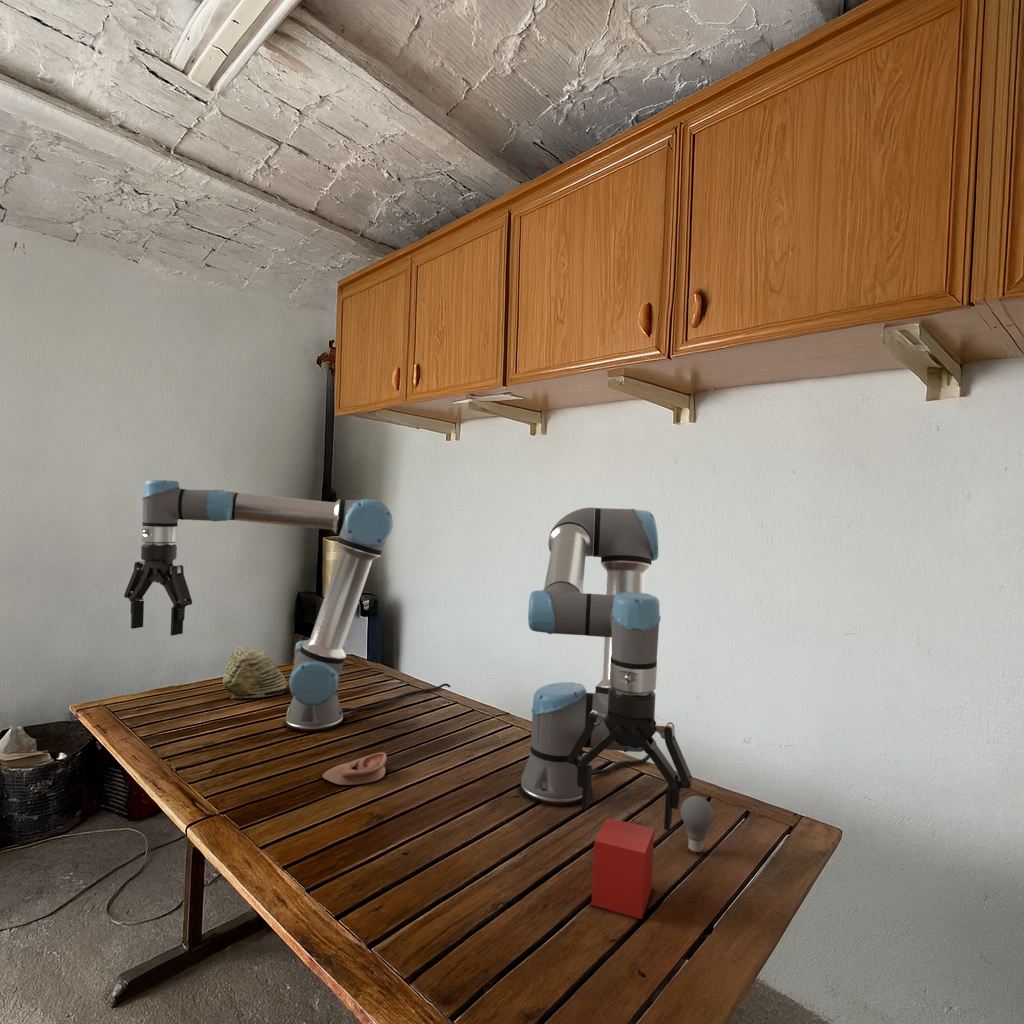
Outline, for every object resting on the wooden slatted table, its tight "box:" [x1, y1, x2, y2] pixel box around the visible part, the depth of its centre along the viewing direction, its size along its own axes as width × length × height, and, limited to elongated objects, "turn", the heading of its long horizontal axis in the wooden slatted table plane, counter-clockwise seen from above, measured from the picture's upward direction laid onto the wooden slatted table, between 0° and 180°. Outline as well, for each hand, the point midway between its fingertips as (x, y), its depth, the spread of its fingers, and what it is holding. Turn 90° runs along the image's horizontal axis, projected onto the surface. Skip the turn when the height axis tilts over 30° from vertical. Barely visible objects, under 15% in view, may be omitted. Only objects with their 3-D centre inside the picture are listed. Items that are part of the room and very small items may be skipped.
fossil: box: [222, 646, 288, 699], centre depth 198 cm, size 9×18×15 cm, turn 132°
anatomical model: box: [321, 751, 387, 786], centre depth 144 cm, size 13×4×12 cm
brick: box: [591, 817, 655, 920], centre depth 104 cm, size 8×8×10 cm
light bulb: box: [680, 795, 715, 853], centre depth 119 cm, size 6×6×10 cm
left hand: (156, 631), depth 153 cm, fingers open, 13 cm apart
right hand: (625, 816), depth 104 cm, fingers open, 13 cm apart
